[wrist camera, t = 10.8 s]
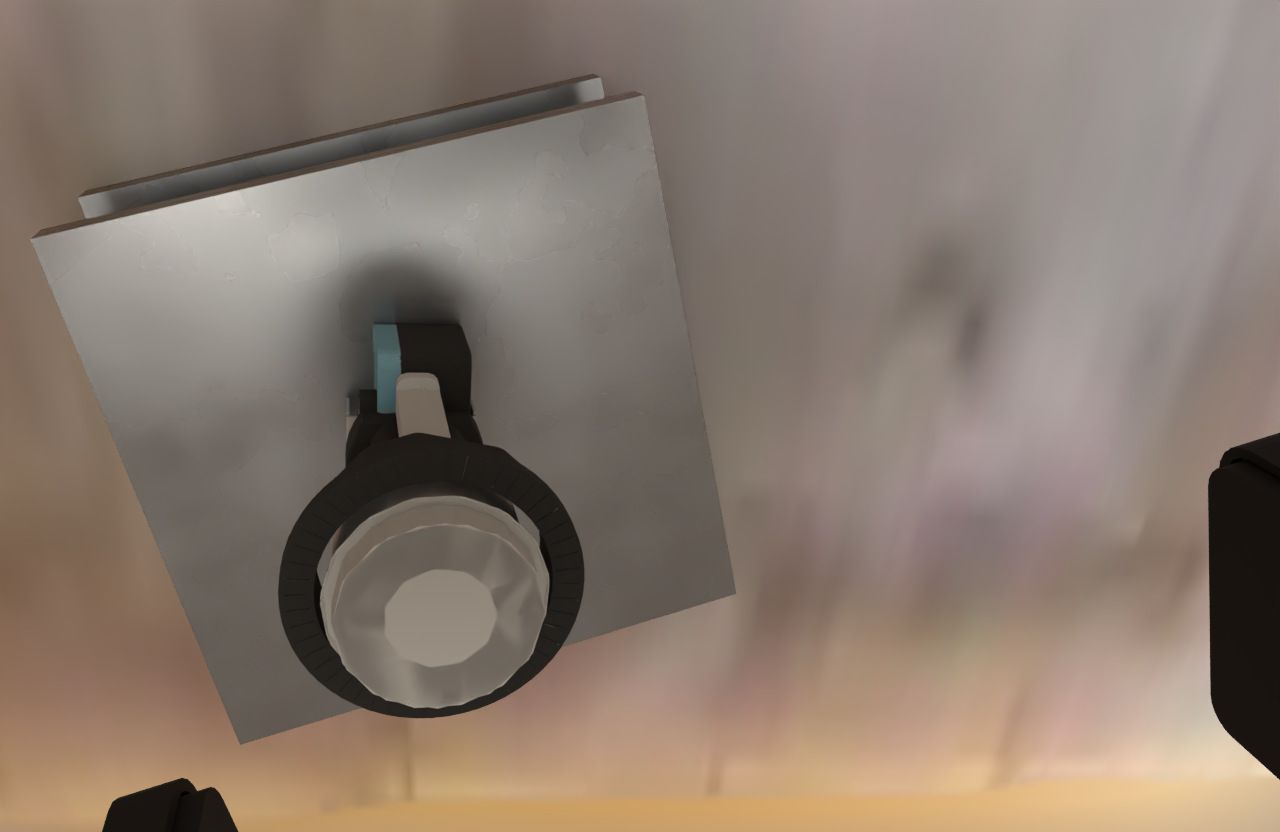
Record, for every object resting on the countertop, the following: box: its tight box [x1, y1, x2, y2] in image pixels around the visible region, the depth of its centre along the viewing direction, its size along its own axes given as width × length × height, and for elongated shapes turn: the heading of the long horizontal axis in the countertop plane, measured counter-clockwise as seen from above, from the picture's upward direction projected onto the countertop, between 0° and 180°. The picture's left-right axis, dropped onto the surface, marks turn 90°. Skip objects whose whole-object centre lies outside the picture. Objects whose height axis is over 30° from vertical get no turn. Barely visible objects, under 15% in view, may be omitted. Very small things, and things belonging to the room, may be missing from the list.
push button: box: [278, 324, 585, 718], centre depth 24 cm, size 7×5×10 cm
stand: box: [31, 74, 736, 745], centre depth 32 cm, size 14×14×6 cm
